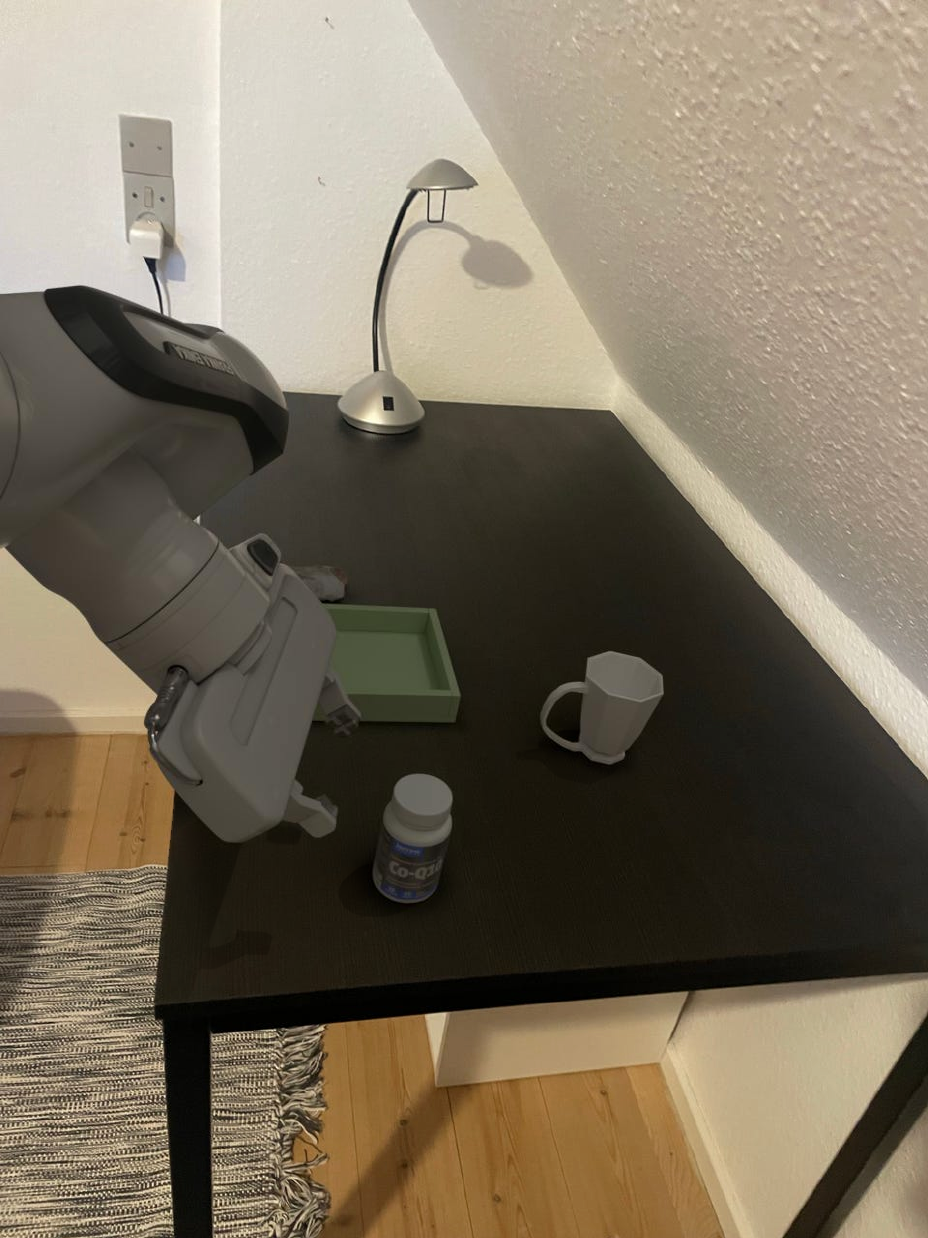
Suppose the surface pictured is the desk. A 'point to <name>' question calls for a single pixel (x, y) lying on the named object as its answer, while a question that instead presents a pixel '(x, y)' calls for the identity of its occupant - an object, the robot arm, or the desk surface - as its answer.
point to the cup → (610, 705)
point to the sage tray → (393, 664)
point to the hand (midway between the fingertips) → (341, 774)
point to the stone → (323, 581)
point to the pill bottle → (413, 839)
